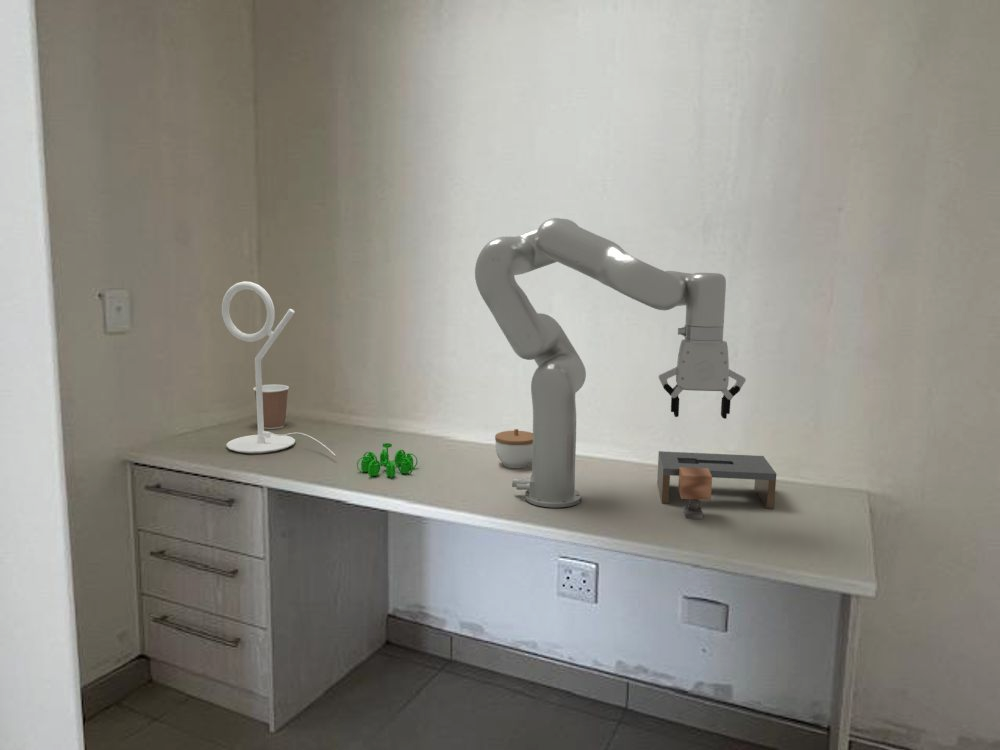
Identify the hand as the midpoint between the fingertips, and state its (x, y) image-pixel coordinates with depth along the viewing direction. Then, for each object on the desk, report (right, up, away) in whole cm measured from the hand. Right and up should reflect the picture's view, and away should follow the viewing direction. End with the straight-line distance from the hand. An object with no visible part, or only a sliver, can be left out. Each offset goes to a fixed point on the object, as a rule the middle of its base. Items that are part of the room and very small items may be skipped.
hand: (699, 416), depth 162 cm
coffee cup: (-110, -7, +76) cm, 134 cm away
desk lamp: (-99, -12, +52) cm, 112 cm away
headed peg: (0, -21, +4) cm, 22 cm away
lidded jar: (-37, -15, +39) cm, 56 cm away
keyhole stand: (+7, -19, +17) cm, 26 cm away
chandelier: (-69, -16, +33) cm, 78 cm away
